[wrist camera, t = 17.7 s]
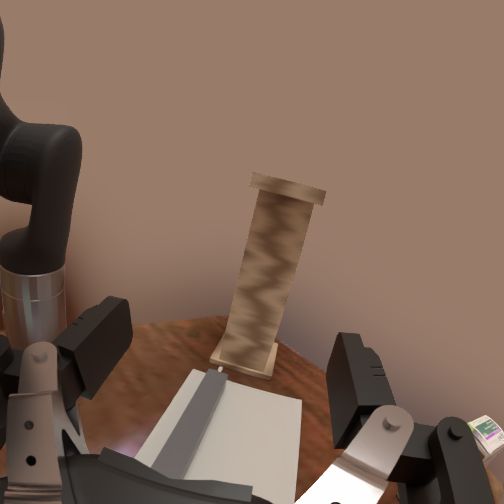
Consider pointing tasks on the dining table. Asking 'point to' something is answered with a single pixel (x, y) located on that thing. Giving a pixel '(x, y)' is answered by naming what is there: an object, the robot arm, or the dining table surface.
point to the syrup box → (486, 438)
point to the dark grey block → (191, 427)
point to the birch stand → (266, 275)
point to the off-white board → (239, 439)
